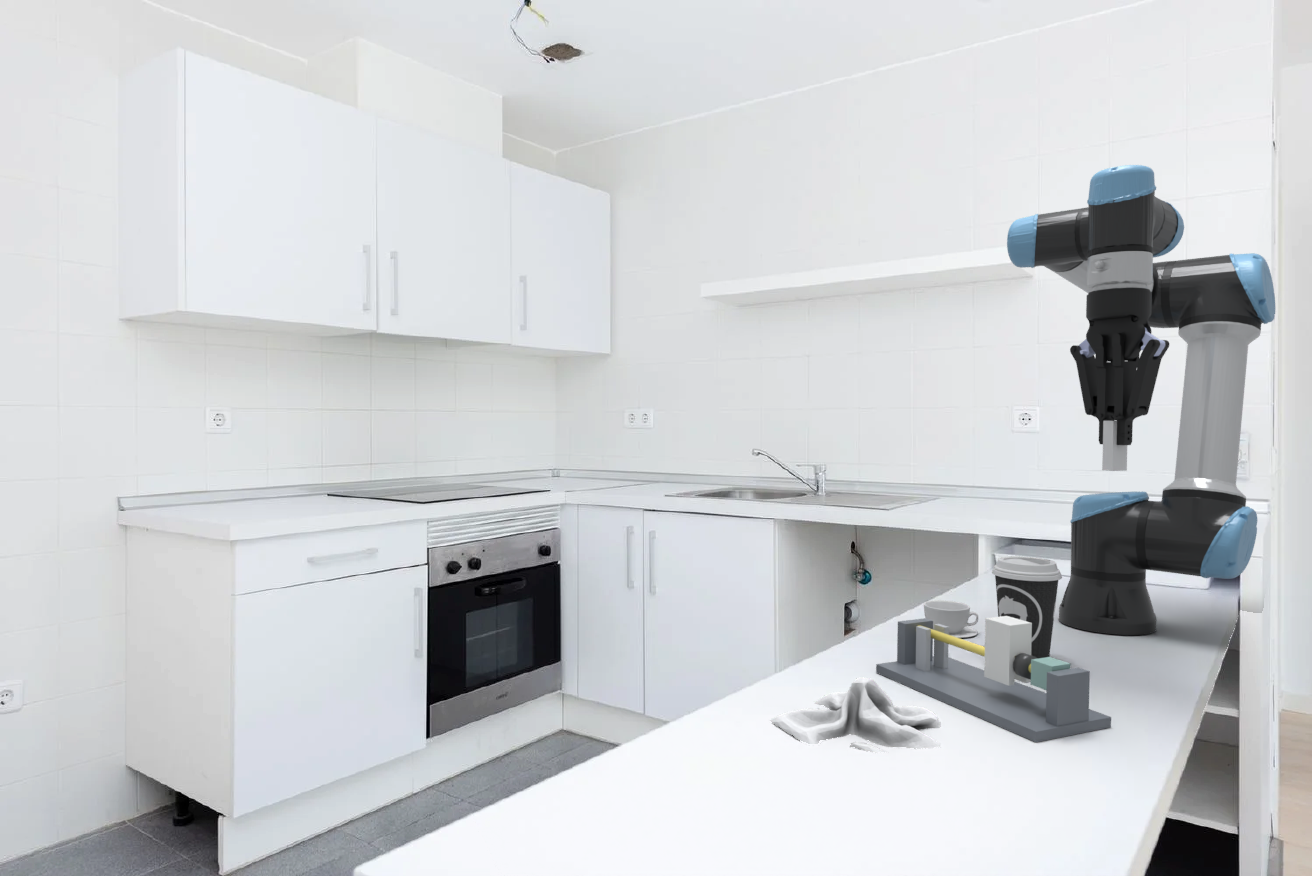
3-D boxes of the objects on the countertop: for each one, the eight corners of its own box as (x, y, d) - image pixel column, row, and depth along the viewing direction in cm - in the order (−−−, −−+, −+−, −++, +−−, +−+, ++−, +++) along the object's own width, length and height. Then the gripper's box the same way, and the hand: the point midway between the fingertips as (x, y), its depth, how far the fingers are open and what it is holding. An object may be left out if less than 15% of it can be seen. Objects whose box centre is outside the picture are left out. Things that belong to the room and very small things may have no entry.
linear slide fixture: (876, 672, 123) (877, 619, 122) (942, 663, 127) (943, 612, 127) (1035, 742, 97) (1037, 676, 97) (1111, 727, 102) (1112, 663, 102)
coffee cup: (1067, 673, 123) (1070, 567, 123) (996, 668, 125) (998, 565, 125) (1051, 654, 132) (1053, 556, 132) (985, 650, 134) (986, 554, 134)
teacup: (913, 636, 143) (913, 608, 143) (917, 623, 153) (918, 596, 152) (977, 643, 140) (978, 614, 139) (978, 628, 149) (979, 601, 149)
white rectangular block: (984, 676, 110) (985, 618, 109) (1005, 673, 111) (1006, 615, 111) (1008, 685, 106) (1010, 625, 106) (1030, 682, 107) (1031, 623, 107)
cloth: (751, 738, 99) (751, 685, 99) (811, 694, 115) (812, 648, 115) (951, 783, 88) (952, 723, 87) (988, 727, 103) (989, 676, 103)
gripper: (1056, 293, 117) (1052, 467, 118) (1145, 280, 105) (1140, 474, 106) (1095, 296, 120) (1091, 466, 121) (1186, 284, 109) (1181, 473, 109)
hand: (1114, 470), depth 114 cm, fingers closed
